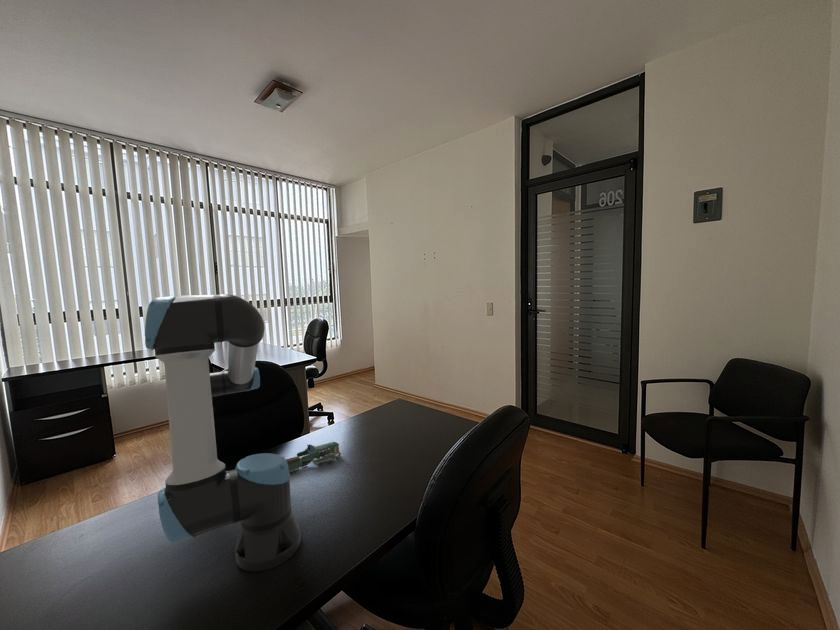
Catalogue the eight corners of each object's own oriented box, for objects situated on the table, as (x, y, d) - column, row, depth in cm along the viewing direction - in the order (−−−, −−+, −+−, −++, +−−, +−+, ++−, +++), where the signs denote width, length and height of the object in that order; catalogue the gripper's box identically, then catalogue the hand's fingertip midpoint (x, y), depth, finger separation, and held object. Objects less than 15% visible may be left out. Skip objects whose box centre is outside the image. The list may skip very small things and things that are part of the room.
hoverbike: (345, 461, 131) (344, 440, 130) (275, 485, 117) (273, 461, 116) (335, 451, 139) (334, 431, 138) (268, 473, 124) (266, 450, 124)
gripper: (201, 414, 114) (207, 482, 117) (218, 400, 127) (223, 463, 129) (176, 415, 113) (183, 485, 116) (195, 402, 126) (201, 465, 128)
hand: (204, 473), depth 123 cm, fingers closed
